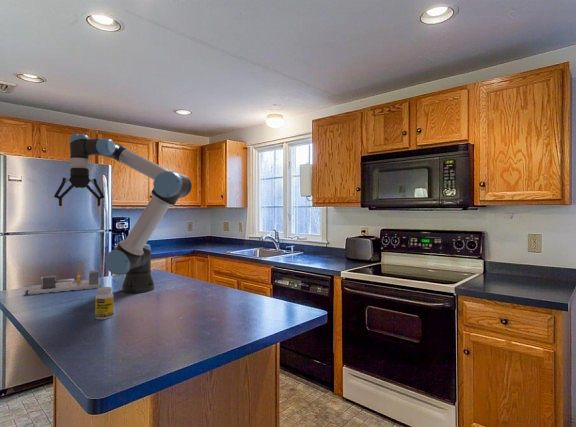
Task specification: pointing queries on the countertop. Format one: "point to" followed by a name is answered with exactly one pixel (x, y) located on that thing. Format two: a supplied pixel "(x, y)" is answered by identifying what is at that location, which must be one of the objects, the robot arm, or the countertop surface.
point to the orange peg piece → (78, 277)
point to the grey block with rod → (51, 281)
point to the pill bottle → (104, 303)
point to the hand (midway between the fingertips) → (80, 213)
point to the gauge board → (69, 285)
